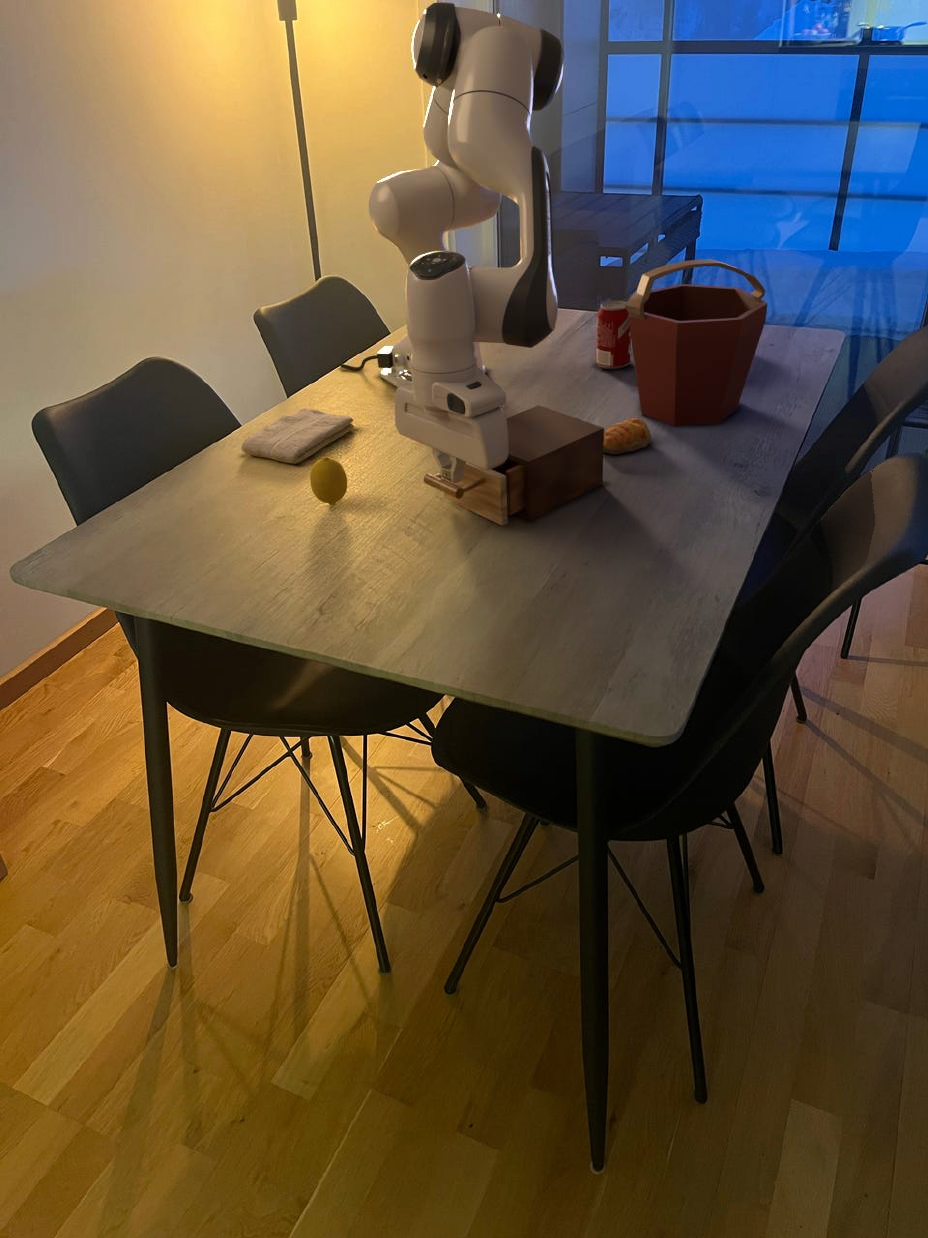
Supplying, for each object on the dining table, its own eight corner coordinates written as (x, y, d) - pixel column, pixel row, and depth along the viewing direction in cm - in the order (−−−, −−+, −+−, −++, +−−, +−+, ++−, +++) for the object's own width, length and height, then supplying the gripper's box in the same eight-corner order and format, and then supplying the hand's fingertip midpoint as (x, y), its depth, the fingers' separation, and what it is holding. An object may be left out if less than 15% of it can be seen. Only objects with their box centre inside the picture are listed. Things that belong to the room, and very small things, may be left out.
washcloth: (358, 428, 169) (356, 412, 167) (296, 468, 156) (293, 451, 155) (305, 418, 174) (302, 402, 173) (241, 457, 162) (238, 440, 160)
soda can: (608, 373, 185) (610, 311, 178) (589, 364, 190) (590, 303, 183) (636, 366, 187) (639, 305, 180) (617, 357, 192) (619, 297, 185)
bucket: (625, 434, 160) (632, 284, 146) (608, 387, 178) (612, 250, 164) (770, 426, 160) (791, 274, 145) (738, 380, 178) (753, 241, 164)
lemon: (356, 499, 146) (350, 451, 141) (338, 515, 142) (331, 467, 137) (326, 494, 148) (319, 447, 143) (307, 510, 144) (299, 462, 139)
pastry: (615, 461, 152) (616, 439, 150) (585, 449, 156) (586, 427, 154) (654, 443, 156) (656, 421, 154) (624, 432, 161) (625, 411, 159)
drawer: (471, 540, 131) (468, 492, 127) (414, 511, 139) (410, 465, 135) (572, 491, 142) (572, 445, 138) (514, 467, 150) (512, 423, 146)
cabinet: (529, 520, 137) (528, 461, 132) (467, 491, 146) (463, 435, 141) (602, 484, 145) (604, 427, 140) (539, 458, 154) (538, 404, 149)
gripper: (379, 373, 130) (389, 465, 138) (478, 408, 117) (483, 508, 124) (414, 361, 133) (422, 452, 141) (515, 394, 120) (517, 492, 128)
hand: (451, 479), depth 133 cm, fingers closed, pressing on drawer
